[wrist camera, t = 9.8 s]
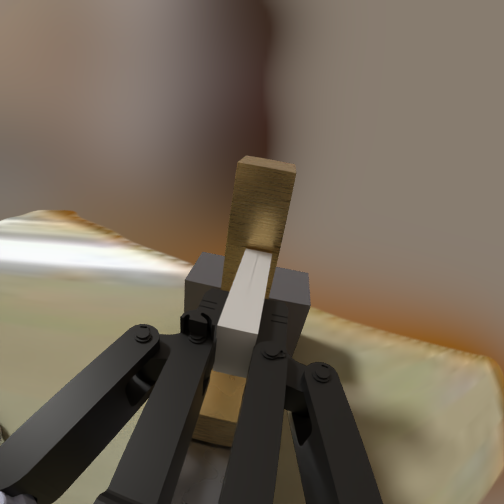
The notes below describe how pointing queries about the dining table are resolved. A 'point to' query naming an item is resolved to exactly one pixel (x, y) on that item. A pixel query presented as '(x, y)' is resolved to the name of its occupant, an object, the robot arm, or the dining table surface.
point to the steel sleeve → (202, 473)
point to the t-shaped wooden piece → (239, 238)
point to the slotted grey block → (283, 289)
